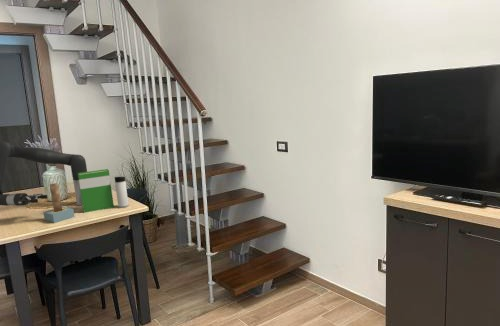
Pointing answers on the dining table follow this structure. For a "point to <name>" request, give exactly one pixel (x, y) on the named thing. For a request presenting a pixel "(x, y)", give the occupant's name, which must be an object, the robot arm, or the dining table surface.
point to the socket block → (59, 215)
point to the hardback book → (96, 190)
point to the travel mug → (121, 192)
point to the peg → (56, 197)
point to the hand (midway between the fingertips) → (42, 198)
